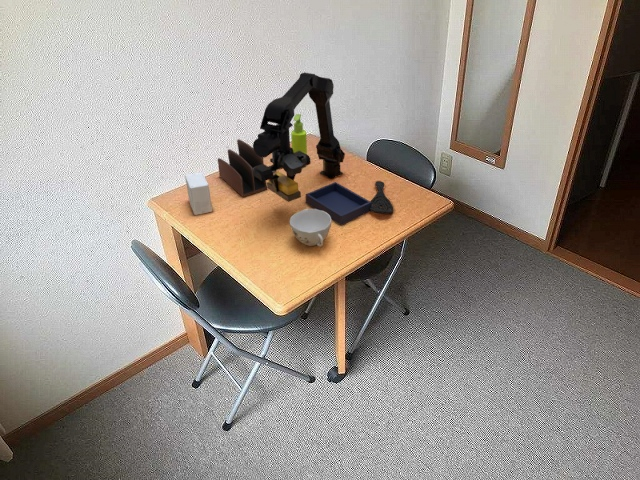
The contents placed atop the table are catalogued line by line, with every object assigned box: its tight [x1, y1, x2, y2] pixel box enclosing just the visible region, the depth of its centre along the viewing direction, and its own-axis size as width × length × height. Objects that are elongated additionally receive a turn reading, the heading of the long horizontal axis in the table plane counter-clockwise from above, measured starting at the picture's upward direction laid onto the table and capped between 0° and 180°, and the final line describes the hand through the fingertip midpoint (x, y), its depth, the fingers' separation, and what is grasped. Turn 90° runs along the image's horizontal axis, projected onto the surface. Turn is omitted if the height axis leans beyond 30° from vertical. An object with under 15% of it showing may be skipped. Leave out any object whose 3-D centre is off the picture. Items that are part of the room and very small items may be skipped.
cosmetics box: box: [184, 171, 213, 216], centre depth 165 cm, size 10×6×10 cm, turn 23°
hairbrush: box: [369, 180, 394, 215], centre depth 169 cm, size 8×4×25 cm
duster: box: [266, 170, 302, 203], centre depth 157 cm, size 12×5×5 cm, turn 39°
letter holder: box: [217, 138, 268, 198], centre depth 178 cm, size 10×20×14 cm, turn 34°
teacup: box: [289, 208, 332, 247], centre depth 148 cm, size 15×12×8 cm
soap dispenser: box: [290, 113, 308, 155], centre depth 189 cm, size 6×7×20 cm
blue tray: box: [305, 181, 373, 226], centre depth 166 cm, size 19×14×4 cm
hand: (283, 189), depth 157 cm, fingers closed on duster, 5 cm apart
